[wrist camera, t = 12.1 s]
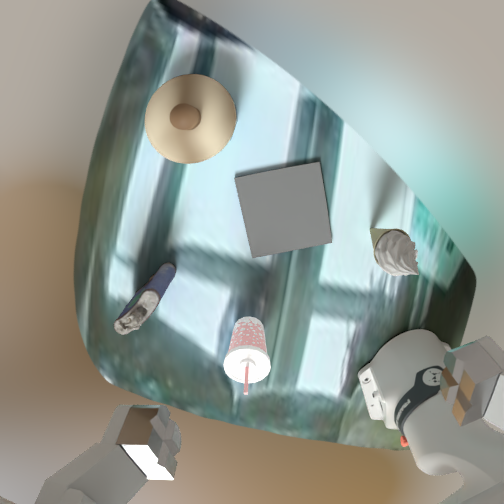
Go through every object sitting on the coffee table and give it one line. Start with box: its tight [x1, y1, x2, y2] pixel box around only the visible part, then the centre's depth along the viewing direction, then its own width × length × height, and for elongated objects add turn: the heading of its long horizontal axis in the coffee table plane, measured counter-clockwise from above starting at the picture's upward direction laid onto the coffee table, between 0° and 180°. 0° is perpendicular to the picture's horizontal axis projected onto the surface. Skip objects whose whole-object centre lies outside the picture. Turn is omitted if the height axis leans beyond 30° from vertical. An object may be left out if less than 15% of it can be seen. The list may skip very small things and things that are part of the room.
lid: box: [145, 74, 236, 164], centre depth 32 cm, size 10×10×4 cm
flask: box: [114, 262, 176, 335], centre depth 41 cm, size 9×3×11 cm, turn 134°
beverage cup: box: [224, 317, 271, 395], centre depth 42 cm, size 6×6×14 cm
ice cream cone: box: [370, 228, 419, 276], centre depth 35 cm, size 5×5×15 cm
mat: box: [234, 162, 332, 258], centre depth 41 cm, size 11×11×1 cm
